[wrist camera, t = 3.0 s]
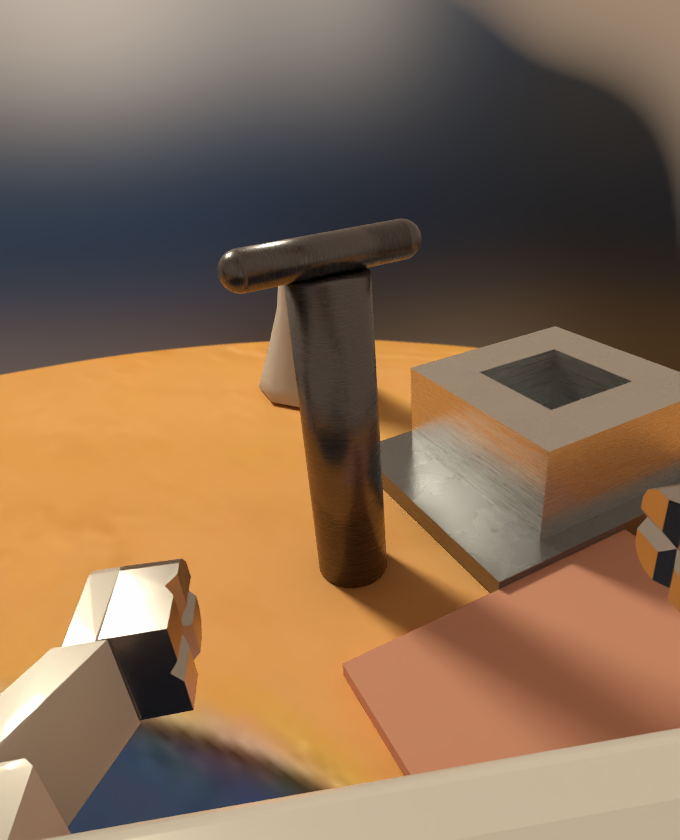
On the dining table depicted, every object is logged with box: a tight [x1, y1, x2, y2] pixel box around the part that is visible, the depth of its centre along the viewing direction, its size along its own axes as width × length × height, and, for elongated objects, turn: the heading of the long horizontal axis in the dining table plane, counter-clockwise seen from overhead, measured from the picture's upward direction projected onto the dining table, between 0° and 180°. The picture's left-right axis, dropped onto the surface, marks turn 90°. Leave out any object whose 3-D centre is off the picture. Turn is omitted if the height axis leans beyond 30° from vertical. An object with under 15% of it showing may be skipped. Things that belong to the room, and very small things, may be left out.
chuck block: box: [380, 326, 680, 593], centre depth 30 cm, size 16×12×6 cm
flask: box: [259, 285, 299, 407], centre depth 41 cm, size 7×7×10 cm
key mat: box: [343, 530, 680, 776], centre depth 20 cm, size 14×10×1 cm
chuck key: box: [218, 219, 421, 588], centre depth 23 cm, size 7×3×14 cm, turn 117°
